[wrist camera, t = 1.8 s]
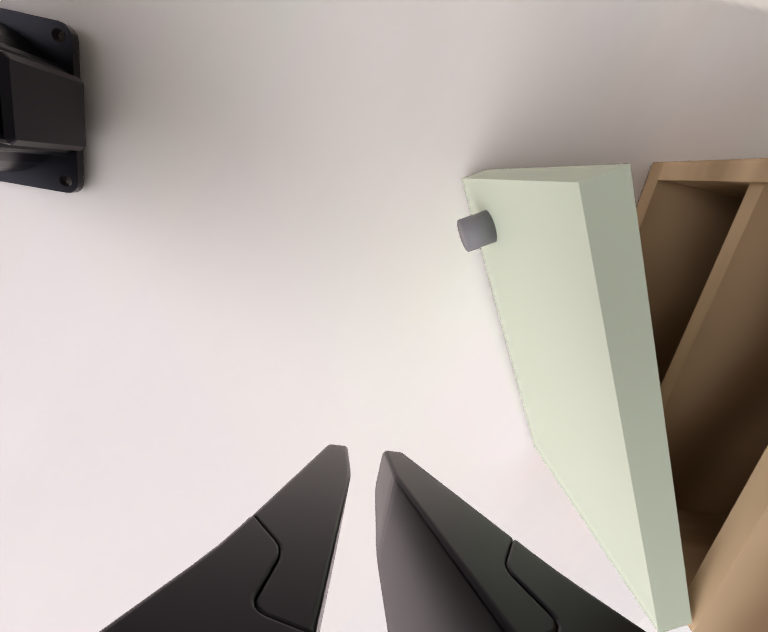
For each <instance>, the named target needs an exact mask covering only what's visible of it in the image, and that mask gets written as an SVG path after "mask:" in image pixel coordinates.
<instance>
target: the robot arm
mask: <svg viewBox="0 0 768 632" xmlns="http://www.w3.org/2000/svg"><path fill="white" fill-rule="evenodd" d="M62 31H63V32H64V33H65V36H66V38H65V41H64V42H63V43H61V42H60V41H59V38H58V36H59V33H60V32H62ZM85 146H86V141H85V111H84V86H83V83H82V82H81V81H80V63H79V41H78V36H77V34H76V33H75V31H74V30H73V29H72V28H71V27H70V26H68V25H66V24H64V23H62V22H59V21H56V20H52V19H48V18H43V17H39V16H34V15H30V14H25V13H21V12H16V11H12V10H7V9H3V8H0V181H3V182H9V183H15V184H20V185H26V186H32V187H37V188H43V189H49V190H54V191H60V192H66V193H72V192H78V191H80V190H81V189H82V188H83V185H84V173H83V148H84V147H85ZM67 175H68V176H69V177H70V178H71V180H72V185H71V186H69V185H68V184H67V183H66V180H65V179H66V176H67ZM349 482H350V464H349V456H348V449H347V447H346V446H340V445H328V446H327V447H326V448H325V449H324V450H323V451H321V452H320V453H319V454H318V455H317V456H316V457H315V458H314V459H313V460H312V461H311V462H310V463H309V464H308V465H306V466H305V467H304V468H303V469H302V470H301V471H300V472H299V473H298V474H297V475H296V476H295V477H294V478H292V479H291V480H290V481H289V482H288V483H287V484H286V485H285V486H284V487H283V488H282V489H281V490H280V491H278V492H277V493H276V494H275V495H274V496H273V497H272V498H271V499H270V500H269V501H268V502H267V503H266V504H265V505H263V506H262V507H261V508H260V509H259V510H258V511H257V512H256V513H255V514H254V515H253V516H252V517H250V518H248V519H247V520H246V521H245V522H244V523H243V524H242V525H241V526H240V527H239V528H238V529H236V530H235V531H234V532H233V533H232V534H231V535H230V536H228V537H227V538H226V539H225V540H224V541H223V542H221V543H220V544H219V545H218V546H217V547H215V548H214V549H213V550H211V551H210V552H209V553H207V554H206V555H205V556H203V557H202V558H201V559H199V560H198V561H197V562H195V563H194V564H193V565H192V566H190V567H189V568H187V569H186V570H185V571H183V572H182V573H180V574H179V575H178V576H176V577H175V578H173V579H172V580H171V581H169V582H168V583H166V584H165V585H164V586H162V587H161V588H160V589H158V590H157V591H155V592H154V593H153V594H151V595H150V596H148V597H147V598H146V599H144V600H143V601H141V602H140V603H139V604H137V605H136V606H134V607H133V608H132V609H130V610H129V611H127V612H126V613H125V614H123V615H122V616H121V617H119V618H118V619H116V620H115V621H114V622H112V623H111V624H109V625H108V626H107V627H105V628H104V629H102V630H101V631H100V632H320V627H321V622H322V617H323V613H324V608H325V603H326V598H327V593H328V588H329V583H330V578H331V574H332V569H333V564H334V559H335V554H336V548H337V543H338V538H339V533H340V528H341V523H342V518H343V513H344V507H345V502H346V497H347V492H348V487H349ZM375 512H376V551H377V562H378V570H379V576H380V583H381V589H382V596H383V603H384V609H385V616H386V622H387V629H388V632H646V631H644V630H643V629H641V628H640V627H638V626H637V625H635V624H634V623H632V622H631V621H629V620H628V619H626V618H625V617H623V616H622V615H620V614H619V613H617V612H616V611H614V610H613V609H611V608H610V607H608V606H607V605H606V604H604V603H603V602H601V601H600V600H598V599H597V598H595V597H594V596H592V595H591V594H589V593H588V592H586V591H585V590H583V589H582V588H581V587H579V586H578V585H576V584H575V583H573V582H572V581H570V580H569V579H568V578H566V577H565V576H563V575H562V574H560V573H559V572H558V571H556V570H555V569H553V568H552V567H551V566H549V565H548V564H547V563H545V562H544V561H543V560H541V559H540V558H539V557H537V556H536V555H535V554H533V553H532V552H531V551H529V550H528V549H527V548H526V547H524V546H523V545H522V544H520V543H519V542H518V541H516V540H514V541H513V539H512V538H511V537H510V536H509V535H508V534H506V533H505V532H504V531H502V530H501V529H500V528H499V527H497V526H496V525H495V524H493V523H492V522H491V521H490V520H488V519H487V518H486V517H484V516H483V515H482V514H480V513H479V512H478V511H477V510H475V509H474V508H473V507H471V506H470V505H469V504H468V503H466V502H465V501H464V500H462V499H461V498H460V497H458V496H457V495H456V494H455V493H453V492H452V491H451V490H449V489H448V488H447V487H446V486H444V485H443V484H442V483H440V482H439V481H438V480H437V479H435V478H434V477H433V476H431V475H430V474H429V473H427V472H426V471H425V470H424V469H422V468H421V467H420V466H418V465H417V464H416V463H415V462H413V461H412V460H411V459H409V458H408V457H407V456H405V455H404V454H403V453H401V452H393V451H385V452H384V453H383V455H382V459H381V463H380V468H379V472H378V477H377V482H376V489H375Z"/></svg>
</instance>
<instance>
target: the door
mask: <svg viewBox="0 0 768 632" xmlns="http://www.w3.org/2000/svg"><path fill="white" fill-rule="evenodd" d="M462 182H463V185H464V189H465V193H466V196H467V200H468V204H469V208H470V211H471V216H468V217H465V218H462V219H460V220H458V221H457V226H458V231H459V235H460V238H461V241H462V243H463V245H464V247H465V249H466V250H467V251H468V252H469V251H472V250H475V249H478V248H481V252H482V256H483V259H484V263H485V267H486V270H487V274H488V278H489V281H490V285H491V289H492V293H493V296H494V300H495V304H496V307H497V311H498V315H499V318H500V322H501V326H502V330H503V333H504V337H505V341H506V344H507V348H508V352H509V355H510V359H511V363H512V366H513V370H514V374H515V378H516V381H517V385H518V389H519V392H520V396H521V400H522V403H523V407H524V411H525V415H526V418H527V422H528V426H529V429H530V433H531V437H532V440H533V444H534V447H535V448H536V450H537V451H538V453H539V454H540V456H541V458H542V459H543V461H544V462H545V464H546V465H547V467H548V468H549V470H550V471H551V473H552V474H553V476H554V477H555V479H556V480H557V482H558V483H559V485H560V486H561V488H562V489H563V491H564V492H565V494H566V495H567V497H568V498H569V500H570V501H571V503H572V504H573V506H574V507H575V509H576V510H577V512H578V513H579V515H580V516H581V518H582V519H583V521H584V522H585V524H586V525H587V527H588V528H589V530H590V531H591V533H592V534H593V536H594V537H595V539H596V540H597V542H598V543H599V545H600V546H601V548H602V549H603V551H604V552H605V554H606V555H607V557H608V558H609V560H610V561H611V563H612V564H613V566H614V567H615V569H616V570H617V572H618V573H619V575H620V576H621V578H622V579H623V581H624V582H625V584H626V585H627V587H628V588H629V590H630V591H631V593H632V594H633V596H634V597H635V599H636V600H637V602H638V603H639V605H640V606H641V608H642V609H643V611H644V612H645V614H646V615H647V617H648V618H649V620H650V621H651V623H652V624H653V626H654V627H655V629H656V630H657V632H666V631H669V630H672V629H675V628H679V627H682V626H685V625H688V624H691V623H692V619H691V611H690V604H689V597H688V589H687V582H686V574H685V567H684V559H683V552H682V545H681V537H680V530H679V522H678V515H677V508H676V500H675V493H674V485H673V478H672V470H671V463H670V456H669V448H668V441H667V433H666V426H665V418H664V411H663V404H662V396H661V389H660V381H659V374H658V367H657V359H656V352H655V344H654V337H653V329H652V322H651V315H650V307H649V300H648V292H647V285H646V277H645V270H644V263H643V255H642V248H641V240H640V233H639V226H638V218H637V211H636V203H635V196H634V188H633V181H632V174H631V166H630V164H610V165H584V166H559V167H534V168H509V169H486V170H483V171H480V172H478V173H475V174H472V175H470V176H467V177H464V178H462Z"/></svg>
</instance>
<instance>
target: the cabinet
mask: <svg viewBox="0 0 768 632" xmlns="http://www.w3.org/2000/svg"><path fill="white" fill-rule="evenodd" d="M636 211H637V218H638V226H639V233H640V240H641V248H642V255H643V263H644V270H645V277H646V285H647V292H648V300H649V307H650V315H651V322H652V329H653V337H654V344H655V352H656V359H657V367H658V374H659V381H660V389H661V396H662V404H663V411H664V418H665V426H666V433H667V441H668V448H669V456H670V463H671V470H672V478H673V485H674V493H675V500H676V508H677V515H678V522H679V530H680V537H681V545H682V552H683V559H684V567H685V574H686V582H687V589H688V597H689V604H690V611H691V619H692V623H691V624H688V627H689V628H690V629H691V631H692V632H768V158H756V159H731V160H706V161H681V162H656V163H653V164H652V166H651V169H650V172H649V175H648V177H647V180H646V183H645V185H644V188H643V191H642V194H641V196H640V199H639V202H638V205H637V207H636Z"/></svg>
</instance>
